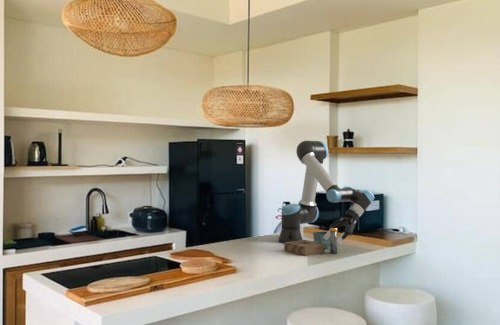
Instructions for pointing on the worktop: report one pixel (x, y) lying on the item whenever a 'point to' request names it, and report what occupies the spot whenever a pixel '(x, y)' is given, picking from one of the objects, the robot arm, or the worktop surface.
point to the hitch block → (304, 247)
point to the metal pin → (333, 240)
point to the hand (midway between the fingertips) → (331, 240)
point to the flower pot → (321, 238)
